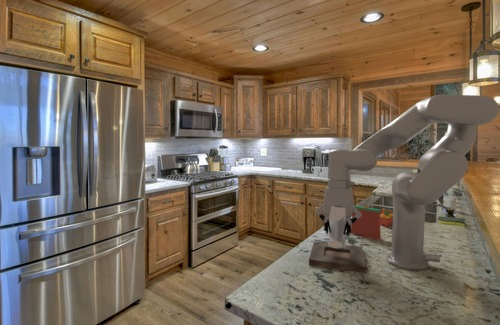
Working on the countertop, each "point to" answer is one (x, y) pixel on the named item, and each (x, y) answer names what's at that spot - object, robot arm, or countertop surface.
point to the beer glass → (337, 227)
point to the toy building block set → (371, 221)
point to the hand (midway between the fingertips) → (337, 233)
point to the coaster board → (338, 257)
